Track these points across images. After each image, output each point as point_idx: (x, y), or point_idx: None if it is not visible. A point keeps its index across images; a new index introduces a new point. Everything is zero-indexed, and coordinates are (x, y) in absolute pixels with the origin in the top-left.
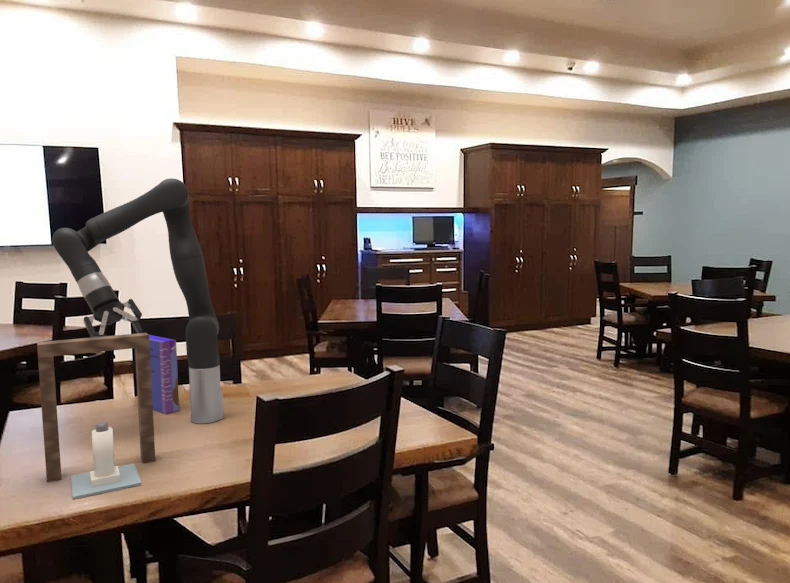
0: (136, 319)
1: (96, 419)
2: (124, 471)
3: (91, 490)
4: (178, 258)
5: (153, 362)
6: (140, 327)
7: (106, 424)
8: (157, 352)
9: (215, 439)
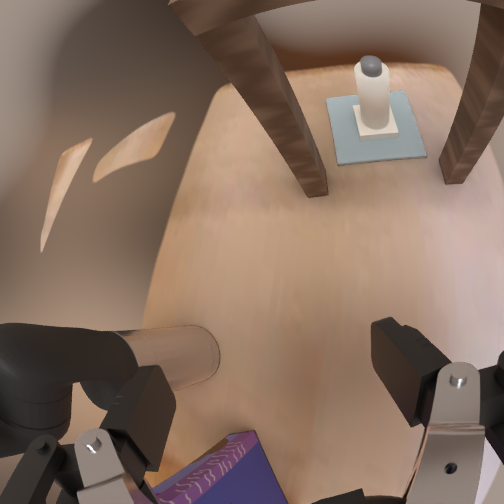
0: (87, 431)
1: (379, 469)
2: (351, 138)
3: None
4: None
5: None
6: (122, 395)
7: (361, 58)
8: None
9: (205, 233)
